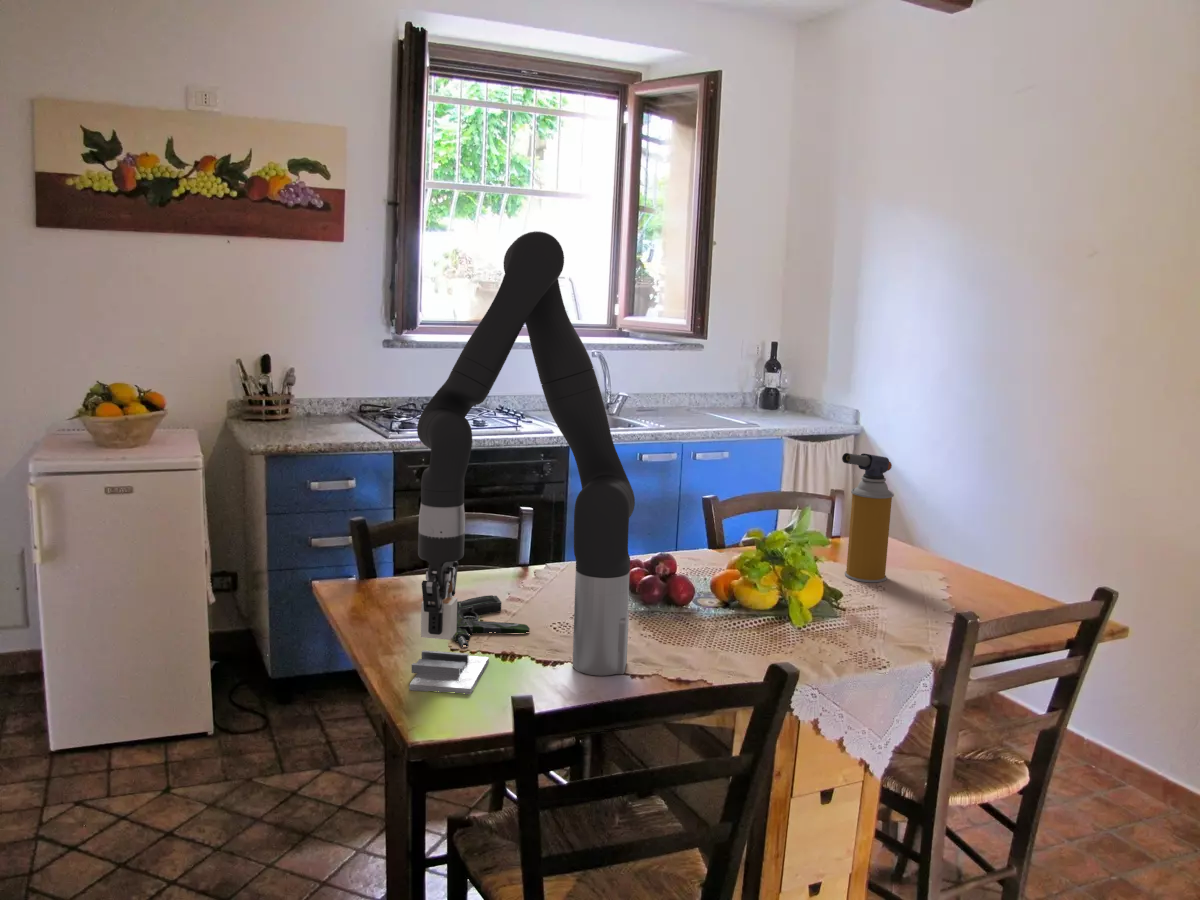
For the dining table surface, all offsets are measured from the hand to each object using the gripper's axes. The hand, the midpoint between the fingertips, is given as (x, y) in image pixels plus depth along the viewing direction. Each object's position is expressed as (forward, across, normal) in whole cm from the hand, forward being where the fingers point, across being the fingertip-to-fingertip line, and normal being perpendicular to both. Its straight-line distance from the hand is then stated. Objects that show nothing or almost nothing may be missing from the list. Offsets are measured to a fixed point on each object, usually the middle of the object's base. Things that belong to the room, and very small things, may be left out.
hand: (439, 628), depth 173 cm
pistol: (+8, +24, -2) cm, 26 cm away
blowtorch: (+7, +74, -78) cm, 108 cm away
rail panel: (+8, -2, -3) cm, 8 cm away
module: (+1, 0, 0) cm, 1 cm away
